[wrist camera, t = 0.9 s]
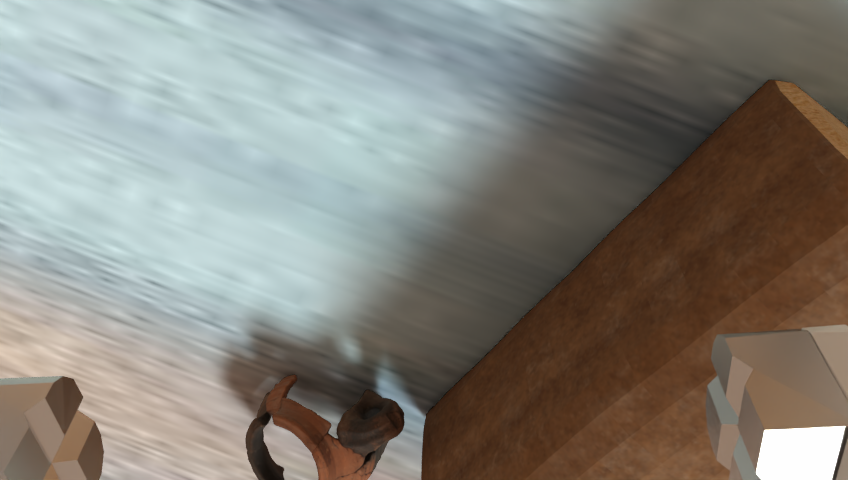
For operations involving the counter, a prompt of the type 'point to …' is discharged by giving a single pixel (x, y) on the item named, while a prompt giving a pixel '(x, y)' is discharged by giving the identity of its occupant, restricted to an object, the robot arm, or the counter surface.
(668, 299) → the bread
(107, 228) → the counter surface
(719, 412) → the robot arm
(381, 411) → the pottery mug
